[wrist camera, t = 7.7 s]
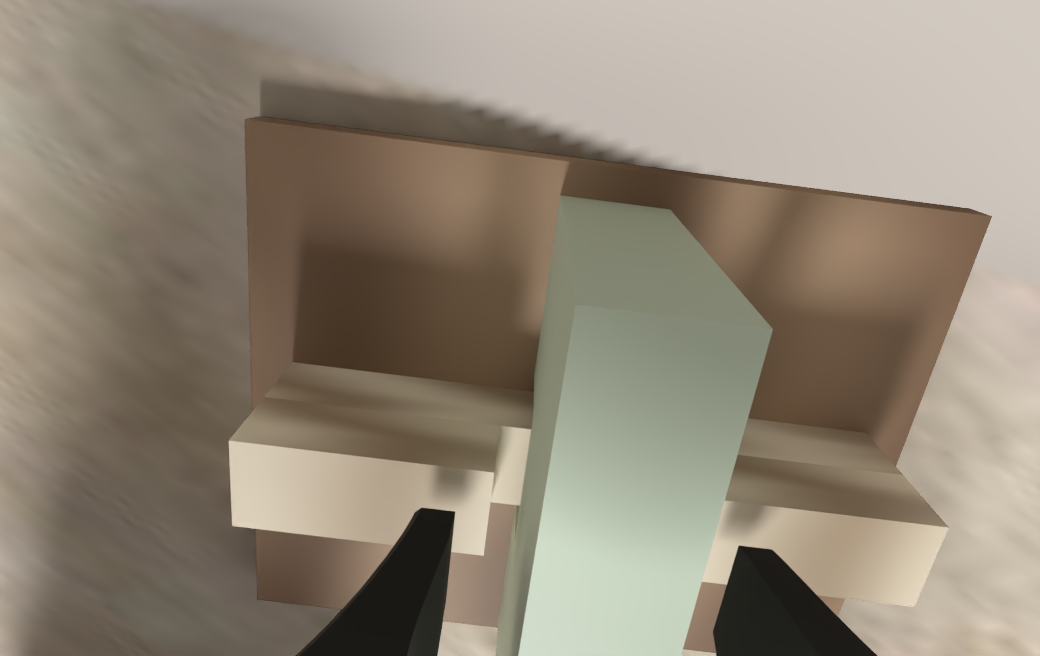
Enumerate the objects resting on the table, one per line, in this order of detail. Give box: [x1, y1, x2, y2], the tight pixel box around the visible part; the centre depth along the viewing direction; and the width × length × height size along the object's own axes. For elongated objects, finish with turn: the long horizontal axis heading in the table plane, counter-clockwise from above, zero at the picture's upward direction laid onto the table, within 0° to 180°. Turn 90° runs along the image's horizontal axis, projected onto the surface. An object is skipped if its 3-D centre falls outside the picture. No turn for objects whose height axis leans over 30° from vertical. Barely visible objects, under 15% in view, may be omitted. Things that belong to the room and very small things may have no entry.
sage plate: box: [496, 195, 773, 656], centre depth 14 cm, size 12×2×7 cm, turn 173°
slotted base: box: [229, 116, 992, 653], centre depth 15 cm, size 16×13×4 cm
